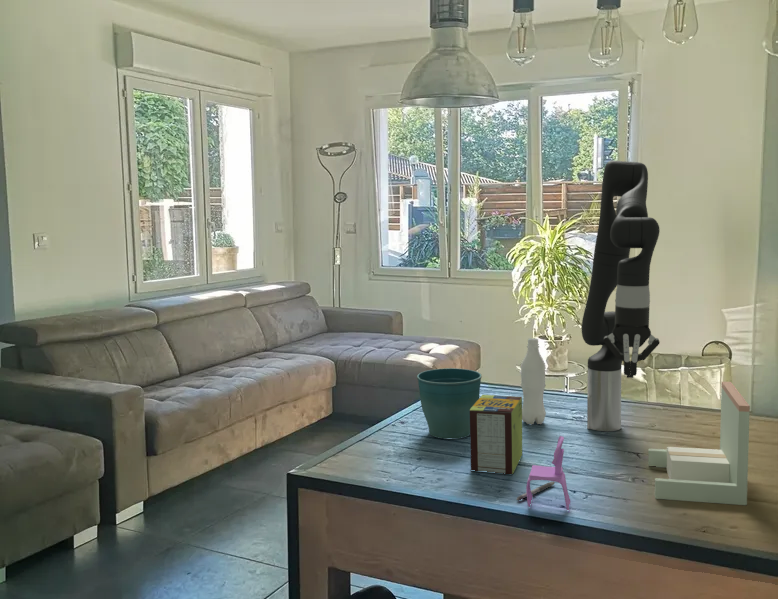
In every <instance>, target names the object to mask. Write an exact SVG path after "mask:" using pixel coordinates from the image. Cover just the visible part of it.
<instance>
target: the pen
mask: <svg viewBox="0 0 778 599" xmlns="http://www.w3.org/2000/svg"><path fill="white" fill-rule="evenodd" d="M555 483H556V482H554V481H548V482H546V483H544V484H542V485H540V486H537V487H536V488H534V489H531V493H532V494H533V495H536V494H537V492H538V493H540V492H542V491H544V489H545V490H546V488H547V489H549V488H551V487H553V485H554V484H555ZM548 487H549V488H548ZM525 497H527V494H526V492H524V493H522V494H521V495H518V496H517V497H516V498H515V499H516V501H519V500H521V499H523V498H525ZM525 499H526V498H525ZM523 500H524V499H523Z"/></svg>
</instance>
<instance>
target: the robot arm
mask: <svg viewBox="0 0 778 599" xmlns="http://www.w3.org/2000/svg"><path fill="white" fill-rule="evenodd" d="M648 171H649V170H648V168H647V166H646V164H644V163H643V162H638V161H625V160H624V161H623V160H622V161H621V160H609V161H608V162H606V164H605V167H604V169H603V175H602V184H601V194H600V195H601V198H600V208H599V209H600V210H599V211H600V212H599V219H598V220H599V221H598V226H597V233H596V239H595V240H596V241H595V245H594V250H593V251H594V253H593V261H592V268H591V269H592V270H591V277H590V278H591V279H590V283H589V290H588V294H587V299H586V303H585V307H584V311H583V314H582V315H583V316H582V319H581V336H582V339H583V341H584V342H585V344H586V345H587V346H588V345H589V346H592V347H593V346H594V347H595V346H601V348H600V349H599V350H598V351H597V352H596V353H594V354H593V355H591V356H589V357H588V359H587V397H586V398H587V400H586V401H587V405H586V406H587V407H586V408H587V410H586V411H587V412H586V413H587V415H586V417H587V421H586V422H587V425H586V426H587V427H586V429H588V430H593V431H598V432H616V431H619V430H621V428H622V366H623V374H624V376H626V378H627V379H629V378H630V379H634V376H636V375H637V371H638V369H637V368H638V367H637V366H638V362H640V361H645V360H646V359H647V358H648V357H649V356H650V355H651V354H652V352H653V351H654V350H655V349H656V348H657V347H658V346H659V345H660V342H661V341H660V340H659V338H658V337H655V336H654V335H653V334H652V332H651V329H650V302H651V292H650V272H651V271H650V270H651V269H650V268H651V263H652V257H653V254H654V252H655V247H656V245H657V242H658V239H659V236H660V229H661V228H660V225H659V222H658V221H657V220H656V219H655V218H653V217H649V213H648V208H647V197H648V188H649V187H648V185H649V183H648V182H649V172H648ZM614 197H620V198H619V199H618V201H617V203H616V207H615V204H614ZM615 208H616V209H615ZM631 249H641V251H640V253H639V254H637V255H636V256H633V257H630V252H631ZM615 289H616V291H615ZM614 291H615V299H614V302H615V309H614V311H606V308H607V305H608V304H607V303H608V302H609V299H610V297H611V295H612V293H613V292H614ZM646 342H647V344H648V345H647V346H646V347H645V348H644V349H643V350H642V351H641V353H639V351H640V348H641V347H642V346H643V345H644V344H645V343H646ZM630 348H632V351H631V356H630ZM630 358H631V359H630ZM622 364H623V365H622Z"/></svg>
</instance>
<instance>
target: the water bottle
mask: <svg viewBox="0 0 778 599" xmlns="http://www.w3.org/2000/svg"><path fill="white" fill-rule="evenodd" d="M526 344H527V346H526V348H527V350H526V353H525V355H524V357H523V359H522V361H521V363H520V364H521V365H520V378H521V381H520V386H521V388H522V393H523V394H522V396H523V397H522V423H524V422H526V423H525V424H527V425H528V424H531V425H530V426H533V425H534V424H535V423H536V425H538V424H540V425H542V424H543V423H544V421H545V418H546V413H547V412H546V408H545V404H544V393H545V392H544V391H545V389H546V369H547V368H546V367H547V366H546V363H545V361H544V359H543V357H542V355H541V352H540V351H539V348H540V346H539V338H528V339H527V343H526ZM532 424H533V425H532Z"/></svg>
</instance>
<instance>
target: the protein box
mask: <svg viewBox="0 0 778 599" xmlns="http://www.w3.org/2000/svg"><path fill="white" fill-rule="evenodd" d="M522 407H523V397H522V396H513V395H511V396H510V395H498V394H495V395H493V394H482V395H481V396H479V399H478V400H477V402H476V403H475V404H474V405H473V406H472V407H471V409H470V410H469V412H470V435H469V446H470V448H469V454H470V471H471V470H475V471H487V472H495V473H503V474H502V475H506V474H513V475H514V473H515V471H516V468H517V467H518V465H519V462H520V461H519V460H521V459H522V457H523V420H522ZM521 456H522V457H521ZM520 458H521V459H520ZM495 473H494V474H495ZM504 473H505V474H504Z"/></svg>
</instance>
